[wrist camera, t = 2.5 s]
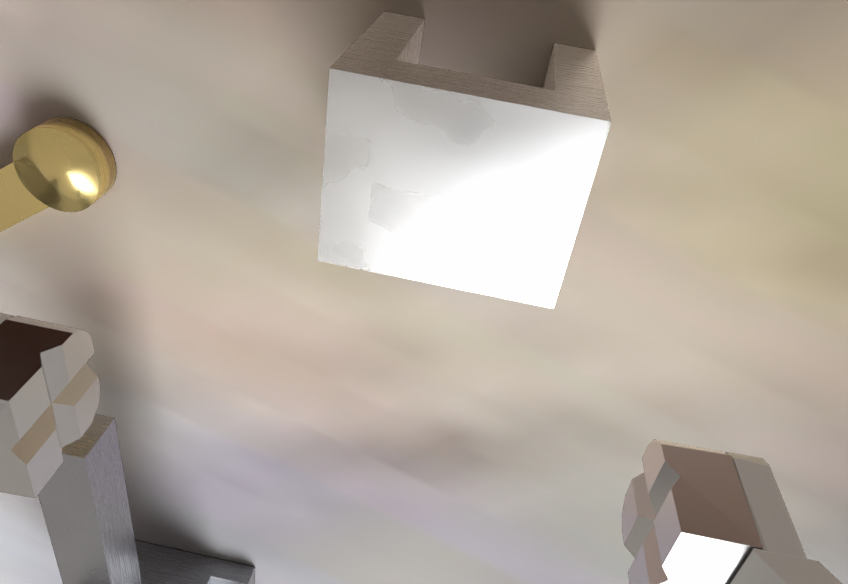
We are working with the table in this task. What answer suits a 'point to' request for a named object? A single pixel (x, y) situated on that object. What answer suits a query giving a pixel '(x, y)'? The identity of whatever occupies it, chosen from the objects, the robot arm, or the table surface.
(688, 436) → the table surface
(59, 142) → the brass doorknob
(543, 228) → the white hollow cube
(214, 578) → the grey mallet
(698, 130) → the table surface
